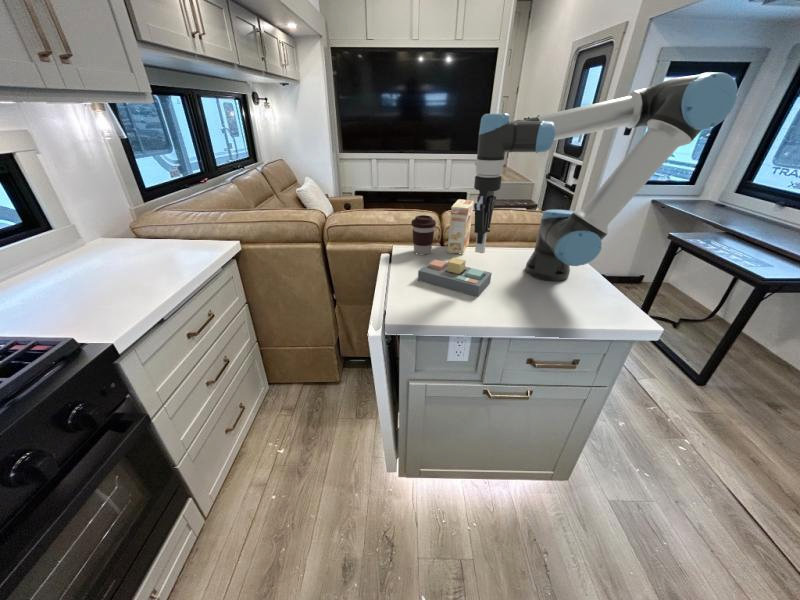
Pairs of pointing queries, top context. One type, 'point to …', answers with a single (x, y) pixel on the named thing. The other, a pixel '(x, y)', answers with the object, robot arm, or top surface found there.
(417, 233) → the coffee cup
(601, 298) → the top surface
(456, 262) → the key mid
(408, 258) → the top surface
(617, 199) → the robot arm
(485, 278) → the keypad board
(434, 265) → the key
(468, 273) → the key
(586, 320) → the top surface
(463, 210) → the coffeecake box
